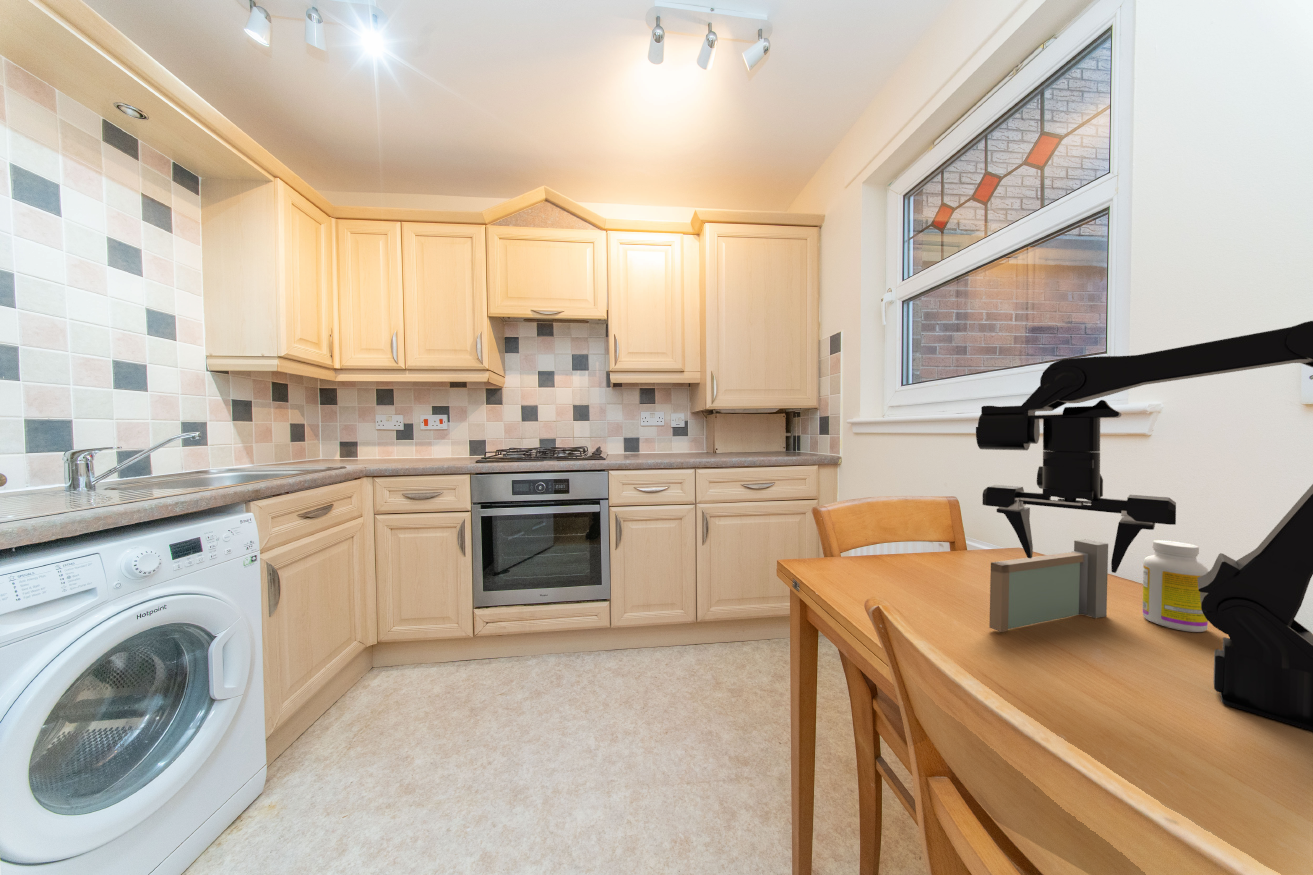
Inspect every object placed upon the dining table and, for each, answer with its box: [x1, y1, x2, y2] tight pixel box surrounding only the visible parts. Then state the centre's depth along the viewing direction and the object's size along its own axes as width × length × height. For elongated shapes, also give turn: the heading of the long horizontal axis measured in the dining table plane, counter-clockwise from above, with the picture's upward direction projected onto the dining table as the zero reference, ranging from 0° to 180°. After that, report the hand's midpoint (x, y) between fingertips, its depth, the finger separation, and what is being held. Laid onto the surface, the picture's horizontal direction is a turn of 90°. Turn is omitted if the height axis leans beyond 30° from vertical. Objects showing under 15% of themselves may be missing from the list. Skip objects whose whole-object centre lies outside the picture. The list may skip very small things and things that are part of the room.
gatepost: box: [1073, 538, 1109, 619], centre depth 72 cm, size 3×3×12 cm
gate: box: [988, 550, 1088, 633], centre depth 68 cm, size 21×2×10 cm, turn 109°
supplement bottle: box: [1142, 539, 1210, 633], centre depth 68 cm, size 7×7×13 cm
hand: (1069, 564), depth 60 cm, fingers open, 8 cm apart
